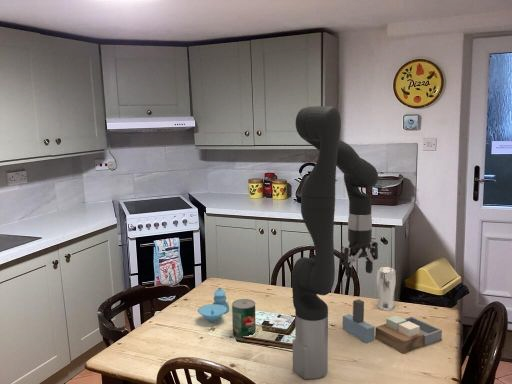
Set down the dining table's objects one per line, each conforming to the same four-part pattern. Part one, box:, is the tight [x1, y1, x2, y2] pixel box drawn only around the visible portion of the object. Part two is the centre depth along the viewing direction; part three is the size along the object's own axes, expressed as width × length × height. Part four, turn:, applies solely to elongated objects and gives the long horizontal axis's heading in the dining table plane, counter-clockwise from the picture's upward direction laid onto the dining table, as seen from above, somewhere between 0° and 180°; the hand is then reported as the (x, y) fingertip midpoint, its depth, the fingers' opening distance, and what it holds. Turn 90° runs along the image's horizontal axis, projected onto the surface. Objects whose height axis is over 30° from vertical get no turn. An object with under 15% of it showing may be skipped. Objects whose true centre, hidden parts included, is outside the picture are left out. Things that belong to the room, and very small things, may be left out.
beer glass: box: [376, 266, 397, 311], centre depth 180 cm, size 7×7×15 cm
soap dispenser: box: [197, 287, 230, 324], centre depth 174 cm, size 18×10×9 cm, turn 167°
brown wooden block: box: [374, 323, 424, 354], centre depth 152 cm, size 9×12×4 cm
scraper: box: [342, 299, 375, 344], centre depth 157 cm, size 3×12×12 cm, turn 30°
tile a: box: [399, 321, 420, 337], centre depth 150 cm, size 4×4×2 cm
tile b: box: [385, 315, 407, 331], centre depth 155 cm, size 4×4×2 cm
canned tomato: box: [231, 298, 257, 340], centre depth 159 cm, size 8×8×11 cm
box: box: [404, 316, 443, 347], centre depth 157 cm, size 8×13×4 cm, turn 30°
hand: (359, 274), depth 155 cm, fingers open, 8 cm apart
